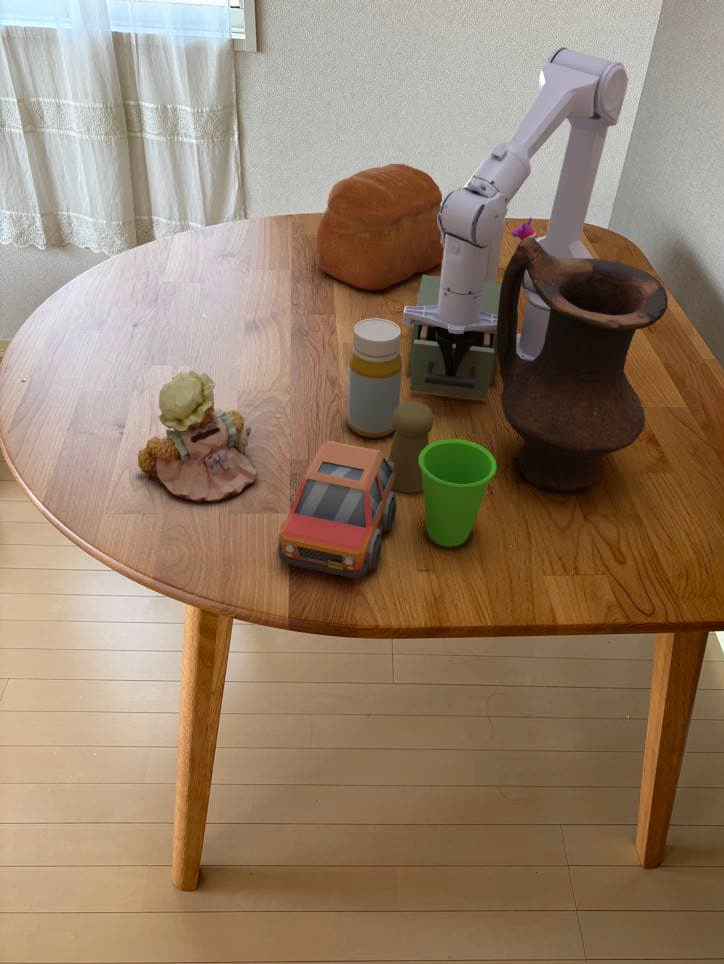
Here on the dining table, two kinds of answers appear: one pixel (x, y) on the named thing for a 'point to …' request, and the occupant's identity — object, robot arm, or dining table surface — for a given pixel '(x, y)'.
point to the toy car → (340, 512)
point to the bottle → (374, 377)
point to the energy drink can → (494, 256)
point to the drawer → (471, 369)
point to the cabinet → (430, 298)
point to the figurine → (198, 443)
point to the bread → (380, 227)
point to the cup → (454, 487)
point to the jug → (574, 363)
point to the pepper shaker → (409, 444)
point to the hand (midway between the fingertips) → (450, 374)
